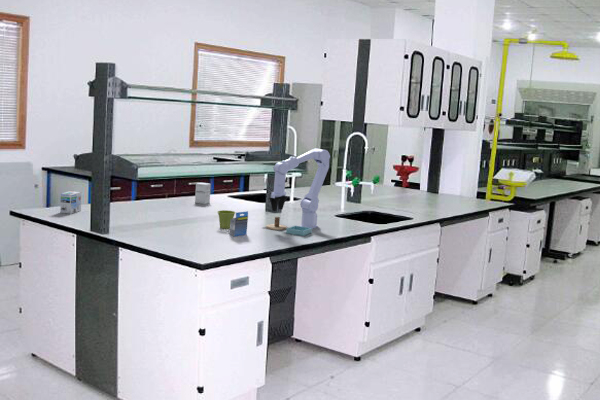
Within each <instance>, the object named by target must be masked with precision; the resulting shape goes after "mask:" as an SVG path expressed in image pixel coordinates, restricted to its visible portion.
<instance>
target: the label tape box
mask: <svg viewBox="0 0 600 400" xmlns="http://www.w3.org/2000/svg"><path fill="white" fill-rule="evenodd" d="M248 221H249V211H248V210H247V211H239V212H235V217H233V219H231V221H230V228H229V236H231V237H238V236H240V237H241V236H245V235H247V232H248Z"/></svg>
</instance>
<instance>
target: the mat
mask: <svg viewBox="0 0 600 400" xmlns="http://www.w3.org/2000/svg"><path fill="white" fill-rule="evenodd" d="M266 227H267V226H264V227H262V229H263V230H264V229H265V230H270V231H272V230H271V229H268V228H266ZM287 228H289V227H287ZM274 231H276V232H284V231H285V230H274Z"/></svg>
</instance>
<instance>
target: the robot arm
mask: <svg viewBox="0 0 600 400" xmlns="http://www.w3.org/2000/svg"><path fill="white" fill-rule="evenodd" d="M311 159H312V160H313V161H315V162H316V164H317V167H318V168H317V170H316V172H315V175H314V177H313V180H312V182H311V185H310V188H309V191H308V193H306V194H305V195H304V197H303V198H302V199H301V201H300V208H301V224H300V226H301V227H307V228H312V230H313V229H315V228H318V227H319V225H317V223H318V213H317V210H318V209H319V202H320V200H319V194H320V191H321V188H322V187H323V184H324V181H325V178H326V177H327V173H328V172H329V168H330V160H331V154H330V152H329V151H328V150H327V149H322V148H319V147H315V148H312V149H310V150H309V151H307V152H305V153H303V154H301V155H298V156H297V157H296V156H289V158H288V159H285V160H284V159H283V160H282V161H281V162H279V161H278V162H276V163H275V165H274V166H273V171H274V182H273V183H274V184H273V191H271V194H270V196H269V201H270V204H271V210H272V211H273V212H277V210H284V209H283V208H284V206H285V203H286V201H287V199H288V196H286V195H287V192H286V191H285V189H286V188H285V187H286V177H287V176H286V175H287V173H288V172H289V171H290V170H293V169H295V168H297V167H299V164H301V163H304V162H306V161H309V160H311Z"/></svg>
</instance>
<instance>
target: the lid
mask: <svg viewBox="0 0 600 400" xmlns="http://www.w3.org/2000/svg"><path fill="white" fill-rule="evenodd" d="M280 219H281V218H280V217H279V216H274V223H271V224H270V223H269V224H266V226H265V227H266V228H268V229H267V230H269V229H271V230H270V231H275V230H284V231H286V228H287V226H286V225H284V224H280Z"/></svg>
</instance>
